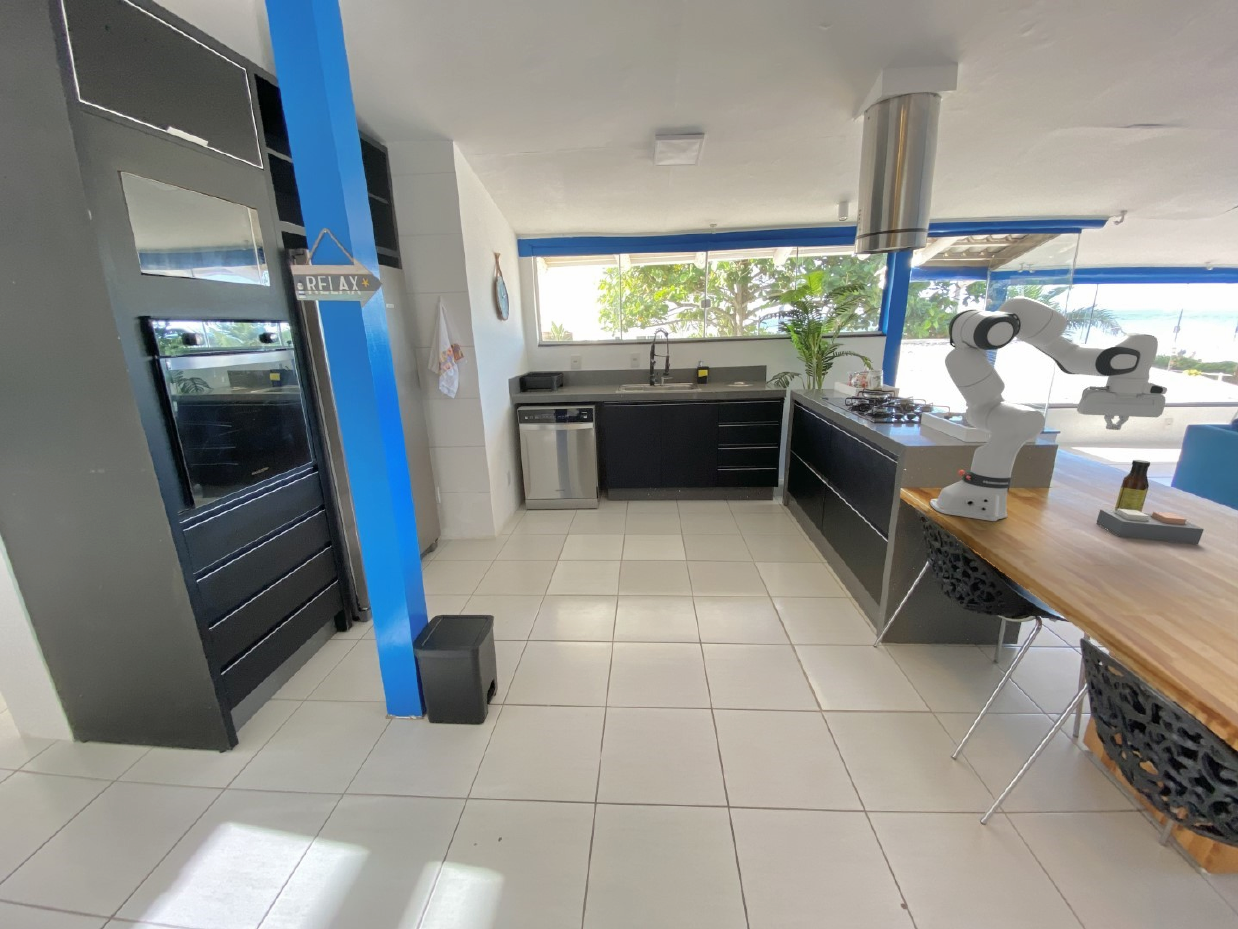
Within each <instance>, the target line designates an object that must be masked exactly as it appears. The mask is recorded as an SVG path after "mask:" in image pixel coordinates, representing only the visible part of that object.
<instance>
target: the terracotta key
mask: <svg viewBox="0 0 1238 929" xmlns="http://www.w3.org/2000/svg"><path fill="white" fill-rule="evenodd" d="M1151 514H1152V518H1154V519H1156V520H1158V521H1160V522H1162V523H1170V524H1181V525H1185V523H1186V521H1187V519H1186V518H1185V517H1182V516H1180V515H1178V514H1176V513H1171V512H1160V511H1153V512H1152V513H1151Z"/></svg>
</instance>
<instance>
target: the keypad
mask: <svg viewBox="0 0 1238 929" xmlns="http://www.w3.org/2000/svg"><path fill="white" fill-rule="evenodd" d="M1116 512H1117V511H1116V510H1115V509H1103V508H1100V510H1099V512H1098V516H1097V519H1096V522H1097V523H1098V524H1097V523H1096V524H1097V525H1099V526H1100V525H1101V527H1102V528H1104V529H1105V528H1106V529H1105V530H1107V529H1108V530H1107V531H1109V532H1111V533H1112V534H1114V535H1115V534H1116V535H1115V536H1117V537H1120V538H1121V537H1122V538H1130V539H1138V540H1139V539H1141V540H1148V541H1149V540H1150V541H1161V542H1168V543H1170V542H1171V543H1178V544H1179V543H1180V544H1192V545H1199V543H1200V542H1201V537H1202V535H1203V533H1204V530H1205V529H1204V528H1203V527H1200V526H1198V525H1196V524H1193V523H1191V522H1189V521H1187V520H1186V523H1185V525H1181V524H1170V523H1162V522H1160V521H1158V520H1156V519H1154V518H1152V514H1153V513H1148V512H1143V513H1144V514H1146V515H1148V516H1149V517H1148V520H1147V521H1138V520H1127V519H1124V518H1122V517H1120V516H1119V515H1117V514H1116Z"/></svg>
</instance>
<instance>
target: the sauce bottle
mask: <svg viewBox="0 0 1238 929" xmlns="http://www.w3.org/2000/svg"><path fill="white" fill-rule="evenodd" d="M1150 466H1151V462H1150V461H1148V460H1142V459H1133V460H1132V462H1131V469H1130V470H1129V473H1128V474H1127V475H1126V476H1125V477H1123V479H1122V483H1121V486H1120V490H1119V492H1118V495H1117V496H1118V497H1117V500H1116V503H1115V507H1114V510H1116V511H1117V509H1127V510H1137V511H1140V512H1142V511H1143V509H1144V508H1143V507H1144V505H1145V501H1146V497H1147V494H1148V491H1149V487H1150V485H1149V480H1148V479H1149V478H1148V470H1149V467H1150ZM1142 513H1143V512H1142Z"/></svg>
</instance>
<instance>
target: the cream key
mask: <svg viewBox="0 0 1238 929" xmlns="http://www.w3.org/2000/svg"><path fill="white" fill-rule="evenodd" d="M1144 513H1145V512H1140V511H1137V510H1127V509H1117V512H1116V514H1117V515H1119V516H1120V517H1122V518H1124V519H1127V520H1138V521H1147V520H1148V517H1149V516H1148V515H1146V514H1144Z"/></svg>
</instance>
